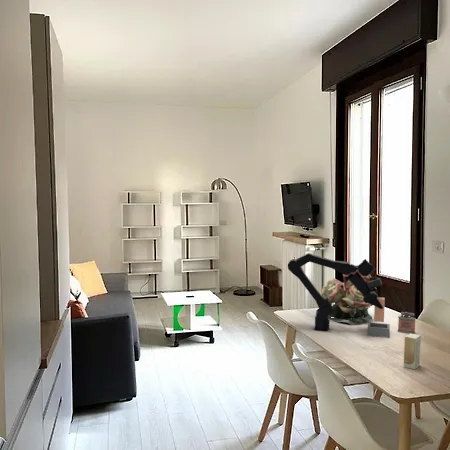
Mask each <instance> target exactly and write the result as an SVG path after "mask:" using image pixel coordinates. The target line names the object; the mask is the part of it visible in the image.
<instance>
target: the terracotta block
mask: <svg viewBox="0 0 450 450" xmlns="http://www.w3.org/2000/svg"><path fill="white" fill-rule="evenodd" d="M377 299H378V300H379V302H380V303H381V305H382V306H383V308H382V309H380V308H378V307H376V306H374V310H373V311H374V312H373V313H374V314H373V322H375V323H385V305H386V304H385V302H386V300H385V297H380V296H378V297H377Z"/></svg>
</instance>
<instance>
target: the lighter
mask: <svg viewBox="0 0 450 450" xmlns="http://www.w3.org/2000/svg"><path fill="white" fill-rule="evenodd" d="M416 320H417V319H416V317H415V313H414V312H408V311H405V312H404V311H401V312H400V315H399V316H398V324H397V325H398V326H397V327H398V328H397V332H398V333H403V334H407V335H408V334H410V333H411V334H416Z"/></svg>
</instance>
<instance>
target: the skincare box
mask: <svg viewBox="0 0 450 450" xmlns="http://www.w3.org/2000/svg"><path fill="white" fill-rule="evenodd" d="M421 337H422V336H421V334H416V333H415V334H411V333H410V334H408V333H407V335H405V336H404V348H403V349H404V351H403V367H404V368H407V369H411V370H416V369H417V368H418V367H420V364H421V342H422V341H421V339H422V338H421Z"/></svg>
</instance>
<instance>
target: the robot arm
mask: <svg viewBox="0 0 450 450" xmlns="http://www.w3.org/2000/svg"><path fill="white" fill-rule="evenodd" d="M308 263H311V264H312V263H313V264H317V265H319V266H323V267H327V268H329V269H333V270H334V271H336V272H338V273H340V274H342V275H343V274H344V275H348V274H349V275H348V276H345V282H347V281H348V280H349V281H350V282H351V283H352V284H353V285H354V286H355V287H356V288H357V290H359V291H360V293H361V294H362V296H363V301H364V302H365V303H369V304H372V306H373V307H375V306H376V307H378V308H380V309H382V308H383V306H382V305H381V303H380V302H379V300H378V299H377V297H379V295H378V289H377V288H378V287H382V285H383V283H382V280H381V278H380V277H376V276H374V277H373V276H372V280H370V282H368V281H367V280H364V278H363V277H362V276H361V275H360V274H359V273H358V271H359V272H360V273H361V274H362V275H363V276H368V275H371V273H373V272H374V271H376V267H374V266H373V265H372V263H370V262H369V261H368V260H367V259H366V258H364V259H363V260H362V262H361V263H359V264H357V265H355V264H353V265H350V264H351V263H350V262H348V261H343V260H333V259H329V258H327V257H323V256H319V255H315V254H313V253H311V252H308V253H306V254H304V255H303V256H300V257H298V258H294V259H293V258H292V259H290V260H289V262H288V263H287V269H288V270H289V272H291V273H292V274H293V275H294V276H295V277H296V278H297V279H298V280H300V282H301V283H302V285H303V286H304V287H305V289H306V290H307V291H308V293H309V294H310V295H311V297H312V298H313V299H314V300H315V303H316V305H317V307H318V308H317V309H316V310H315V316H314V319H315V320H314V328H313V330H314V331H324V332H328V331H329V329H330V322H331V321H330V320H331V319H330V318H329V317H328V315H330V314H331V313H332V306H333V303H332V302H330V301H329V300H328V298H327V296H326V297H325V298H324V297H323V294H322V293H320V291H318V289H317V288H316V286H315V285H314V284H313V282H312V281H311V280H310V278H309V277H308V276H307V274H306V273H305V271H304V269H303V267H304V266H305V265H306V264H308ZM351 272H355V273H354V274H353V273H351ZM350 273H351V274H350Z"/></svg>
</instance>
